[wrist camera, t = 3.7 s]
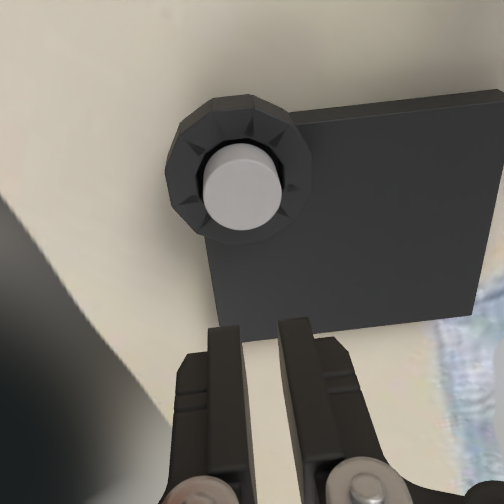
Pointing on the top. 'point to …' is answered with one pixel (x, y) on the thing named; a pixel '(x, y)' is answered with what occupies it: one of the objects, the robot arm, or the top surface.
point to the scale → (349, 209)
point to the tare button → (241, 187)
